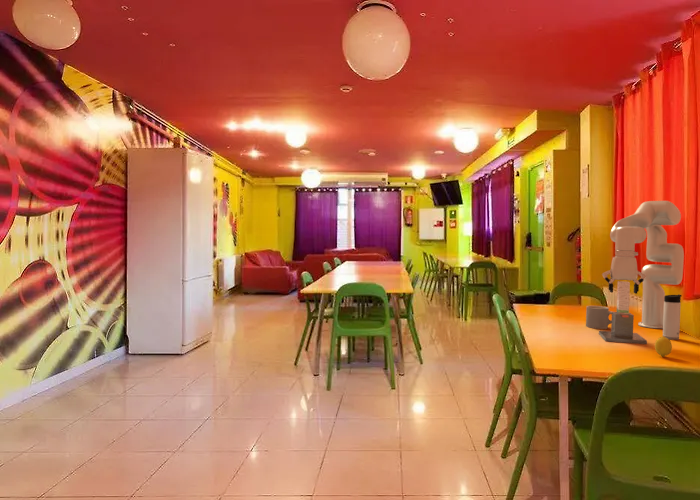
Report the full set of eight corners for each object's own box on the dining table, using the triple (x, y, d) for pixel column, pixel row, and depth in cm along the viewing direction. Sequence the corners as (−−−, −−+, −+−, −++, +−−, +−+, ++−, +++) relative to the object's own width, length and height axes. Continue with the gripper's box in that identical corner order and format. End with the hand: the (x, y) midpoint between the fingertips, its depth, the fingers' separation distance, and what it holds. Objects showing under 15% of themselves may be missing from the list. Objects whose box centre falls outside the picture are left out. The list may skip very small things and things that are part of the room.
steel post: (616, 320, 224) (617, 281, 223) (626, 321, 222) (627, 281, 222) (618, 322, 220) (619, 282, 219) (628, 323, 218) (629, 282, 218)
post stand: (598, 333, 231) (599, 309, 231) (637, 336, 227) (637, 311, 226) (605, 341, 216) (606, 315, 216) (646, 344, 211) (647, 317, 211)
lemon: (651, 355, 193) (652, 334, 192) (664, 354, 193) (665, 334, 193) (661, 358, 187) (662, 338, 187) (675, 358, 188) (675, 337, 187)
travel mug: (682, 340, 220) (684, 295, 219) (666, 339, 221) (667, 295, 220) (676, 337, 226) (677, 293, 225) (660, 336, 227) (661, 293, 226)
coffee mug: (585, 327, 246) (585, 307, 246) (586, 324, 255) (587, 305, 255) (615, 330, 240) (616, 310, 239) (616, 327, 248) (616, 307, 248)
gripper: (644, 254, 221) (642, 292, 221) (601, 253, 226) (600, 290, 227) (649, 255, 214) (647, 294, 214) (604, 254, 219) (603, 292, 219)
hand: (623, 292), depth 220 cm, fingers open, 9 cm apart
